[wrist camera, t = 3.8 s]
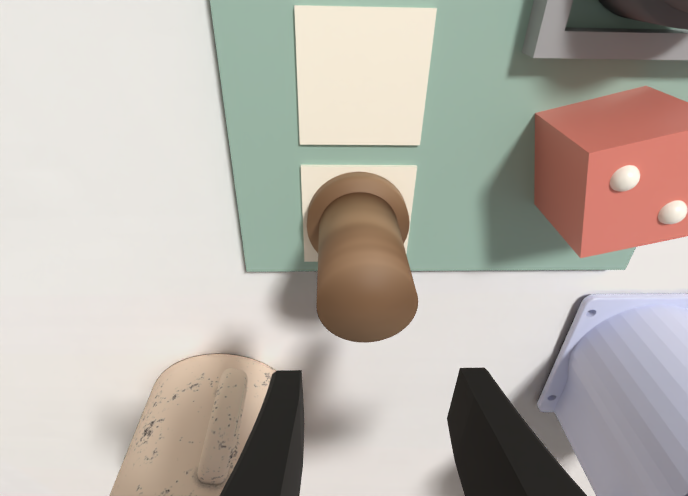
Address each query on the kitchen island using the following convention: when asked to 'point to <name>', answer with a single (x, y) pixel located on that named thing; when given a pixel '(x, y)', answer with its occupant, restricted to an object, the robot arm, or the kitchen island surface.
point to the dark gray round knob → (651, 11)
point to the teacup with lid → (194, 427)
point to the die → (614, 170)
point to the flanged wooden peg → (361, 257)
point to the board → (421, 115)
